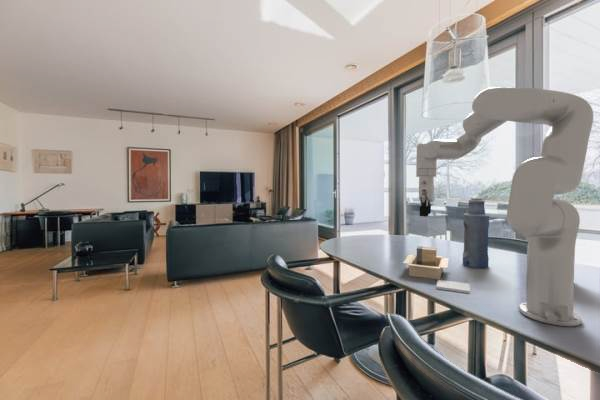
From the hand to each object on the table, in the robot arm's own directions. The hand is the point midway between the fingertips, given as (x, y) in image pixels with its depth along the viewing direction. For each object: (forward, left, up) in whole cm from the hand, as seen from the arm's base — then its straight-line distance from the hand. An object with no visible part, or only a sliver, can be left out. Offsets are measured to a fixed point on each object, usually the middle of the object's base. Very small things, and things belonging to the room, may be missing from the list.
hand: (425, 214), depth 116 cm
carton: (0, -1, -24) cm, 24 cm away
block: (0, -1, -24) cm, 24 cm away
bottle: (+20, -19, -24) cm, 36 cm away
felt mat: (-15, -11, -24) cm, 30 cm away
